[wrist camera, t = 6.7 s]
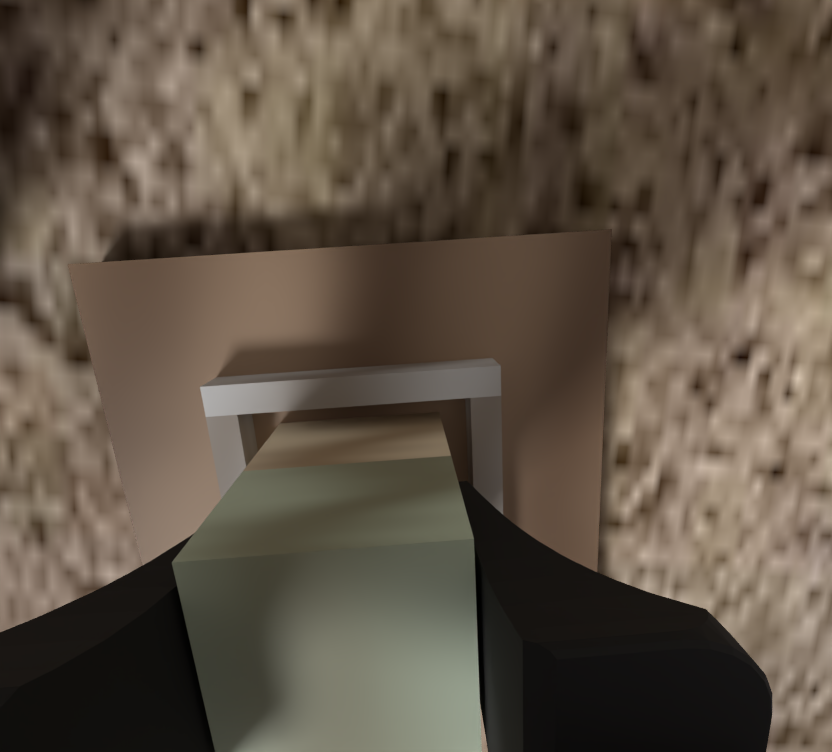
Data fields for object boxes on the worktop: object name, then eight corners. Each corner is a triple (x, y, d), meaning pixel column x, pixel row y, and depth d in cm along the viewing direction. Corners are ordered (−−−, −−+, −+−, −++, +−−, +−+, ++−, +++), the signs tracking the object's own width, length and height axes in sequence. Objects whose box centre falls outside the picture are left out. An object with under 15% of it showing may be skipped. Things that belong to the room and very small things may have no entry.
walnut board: (591, 233, 12) (631, 225, 10) (579, 634, 16) (607, 691, 14) (99, 265, 12) (35, 263, 10) (192, 667, 16) (159, 730, 13)
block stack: (439, 411, 12) (474, 539, 7) (446, 549, 13) (481, 764, 8) (279, 423, 12) (171, 562, 6) (300, 561, 13) (223, 787, 8)
